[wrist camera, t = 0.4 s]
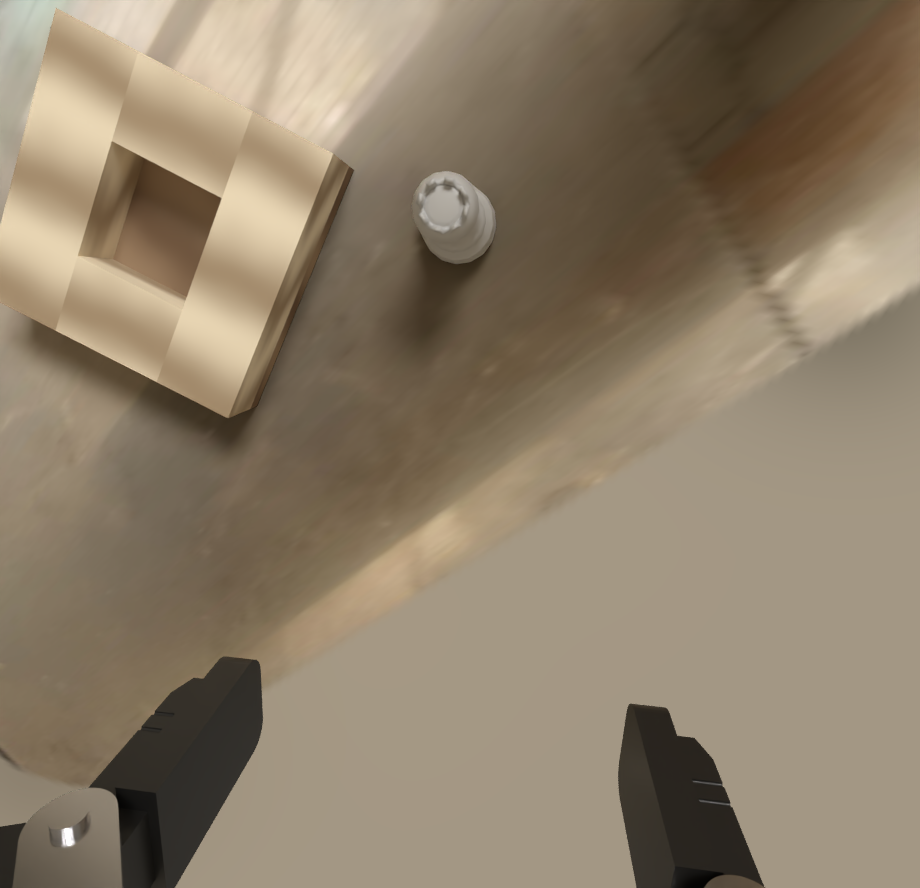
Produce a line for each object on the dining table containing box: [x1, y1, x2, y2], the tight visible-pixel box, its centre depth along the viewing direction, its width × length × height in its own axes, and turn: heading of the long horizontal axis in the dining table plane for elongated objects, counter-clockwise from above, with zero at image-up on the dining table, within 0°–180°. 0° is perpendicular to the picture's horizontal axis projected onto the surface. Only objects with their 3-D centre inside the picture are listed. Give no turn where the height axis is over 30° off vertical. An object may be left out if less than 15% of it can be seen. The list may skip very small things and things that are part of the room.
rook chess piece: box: [411, 171, 496, 264], centre depth 31 cm, size 4×4×8 cm
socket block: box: [0, 8, 354, 418], centre depth 34 cm, size 16×16×4 cm
